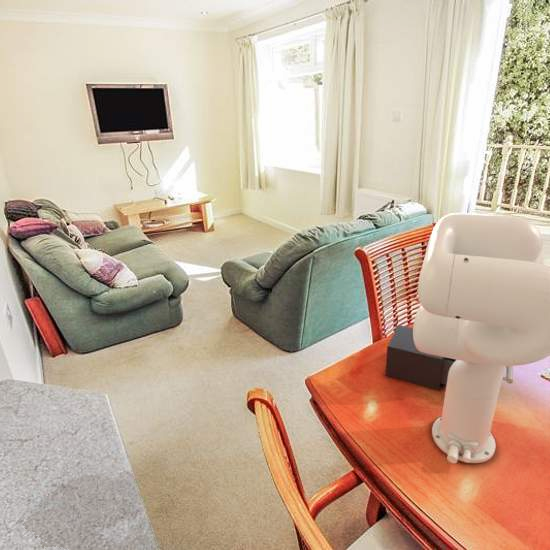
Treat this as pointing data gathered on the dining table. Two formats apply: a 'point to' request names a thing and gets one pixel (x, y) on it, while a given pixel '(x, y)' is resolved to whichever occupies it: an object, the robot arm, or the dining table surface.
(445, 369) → the basket
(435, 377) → the dark grey box
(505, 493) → the dining table surface
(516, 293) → the robot arm
